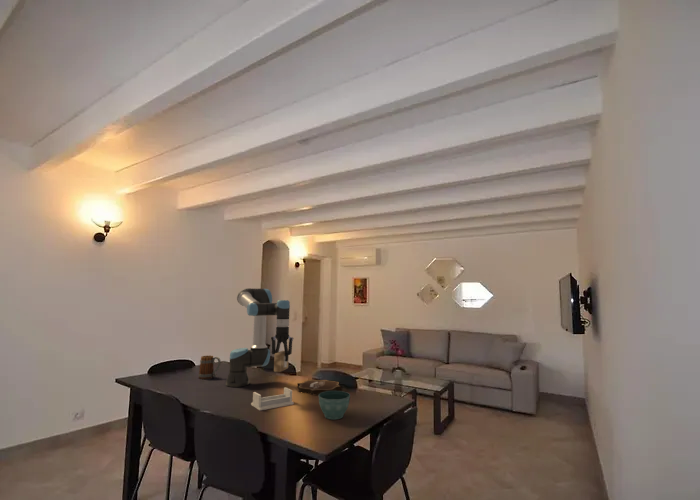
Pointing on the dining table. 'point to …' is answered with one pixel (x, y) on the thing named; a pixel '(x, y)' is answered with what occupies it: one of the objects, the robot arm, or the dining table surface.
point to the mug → (208, 367)
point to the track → (272, 400)
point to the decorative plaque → (318, 386)
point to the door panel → (279, 361)
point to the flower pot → (334, 403)
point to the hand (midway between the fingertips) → (281, 366)
